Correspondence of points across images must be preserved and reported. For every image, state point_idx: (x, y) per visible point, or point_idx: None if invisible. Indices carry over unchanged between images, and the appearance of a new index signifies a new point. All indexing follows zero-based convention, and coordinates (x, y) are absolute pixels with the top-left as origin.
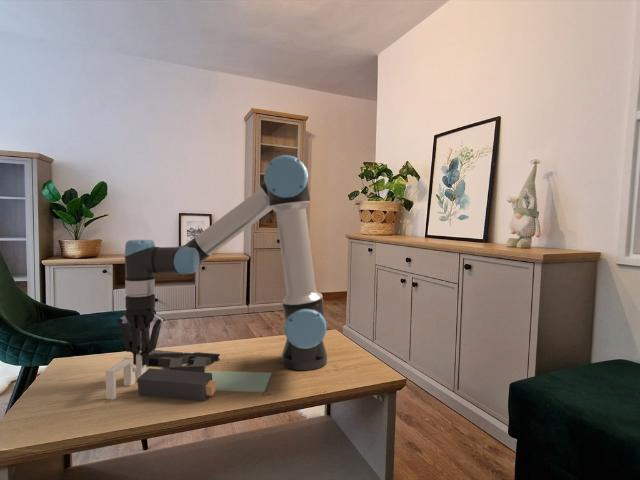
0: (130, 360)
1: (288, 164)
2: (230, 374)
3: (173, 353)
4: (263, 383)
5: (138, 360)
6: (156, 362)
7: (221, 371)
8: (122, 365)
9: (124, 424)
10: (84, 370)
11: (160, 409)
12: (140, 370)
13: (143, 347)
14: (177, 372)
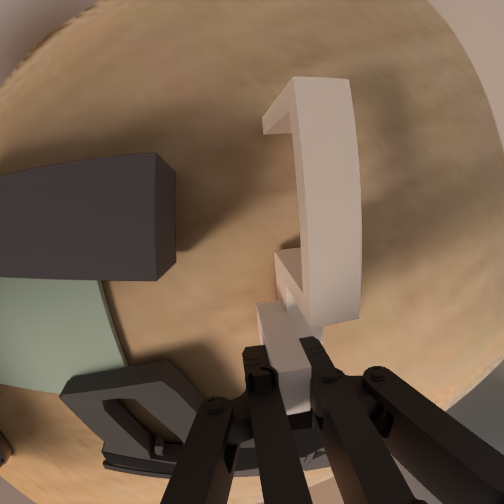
0: (307, 299)
1: None
2: (9, 370)
3: (252, 467)
4: None
5: (285, 348)
6: None
7: (39, 389)
8: (304, 196)
9: (116, 10)
10: (472, 320)
11: (49, 113)
12: (264, 319)
13: (266, 417)
14: (2, 258)
